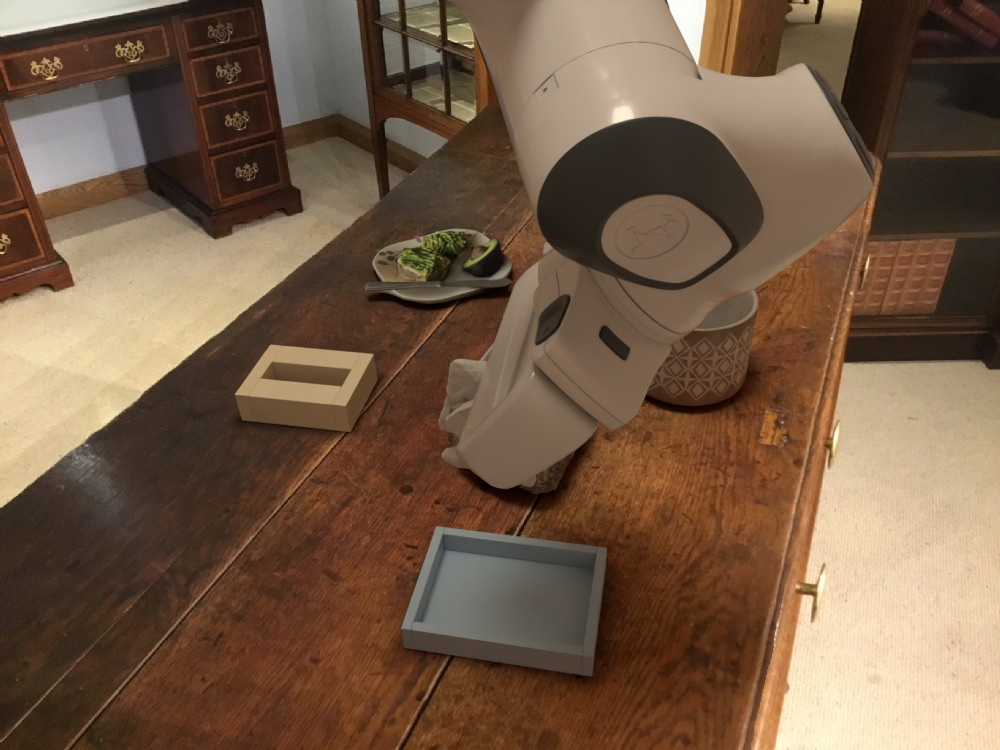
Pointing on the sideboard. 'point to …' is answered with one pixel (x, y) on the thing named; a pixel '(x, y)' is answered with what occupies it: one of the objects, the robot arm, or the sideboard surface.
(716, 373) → the planter
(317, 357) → the holder
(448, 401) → the arrowhead
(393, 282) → the salad plate
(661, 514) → the sideboard surface
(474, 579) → the tray
